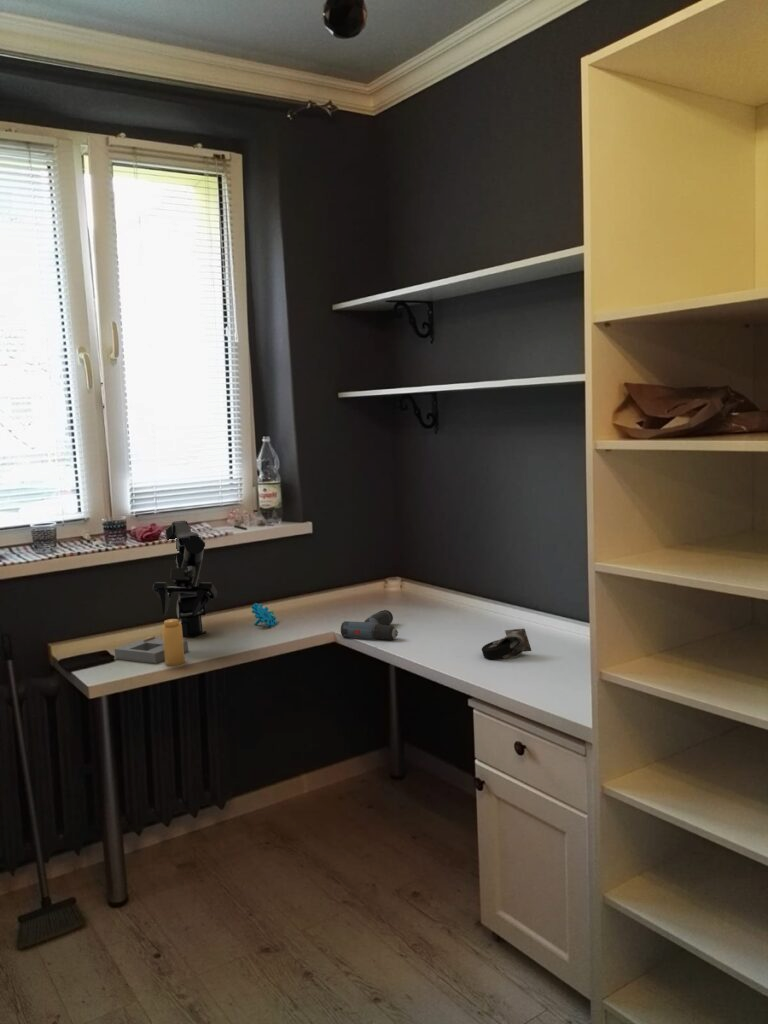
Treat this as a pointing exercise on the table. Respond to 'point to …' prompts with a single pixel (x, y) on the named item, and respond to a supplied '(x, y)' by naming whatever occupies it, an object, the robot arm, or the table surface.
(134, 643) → the block
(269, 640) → the table surface
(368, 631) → the power drill
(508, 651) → the caster wheel
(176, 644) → the yellow cylinder
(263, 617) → the gear
